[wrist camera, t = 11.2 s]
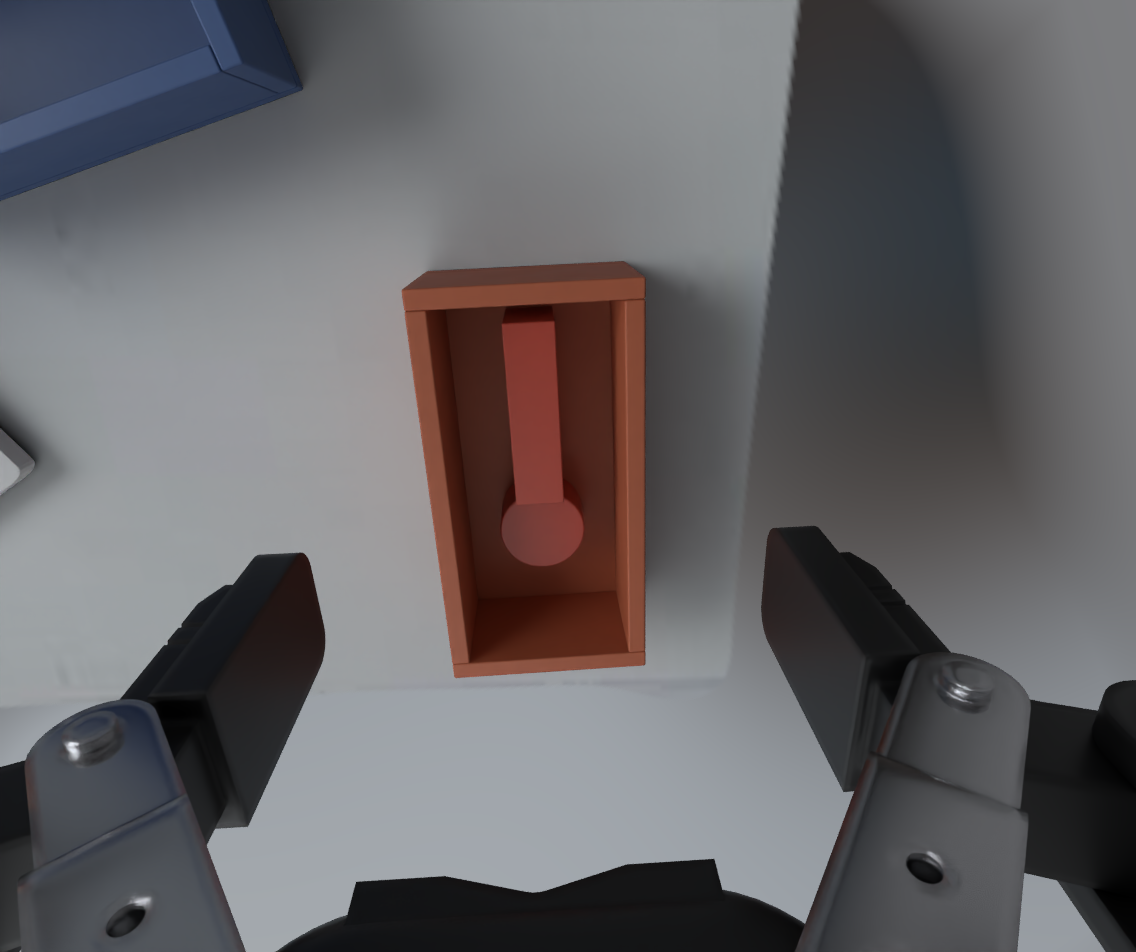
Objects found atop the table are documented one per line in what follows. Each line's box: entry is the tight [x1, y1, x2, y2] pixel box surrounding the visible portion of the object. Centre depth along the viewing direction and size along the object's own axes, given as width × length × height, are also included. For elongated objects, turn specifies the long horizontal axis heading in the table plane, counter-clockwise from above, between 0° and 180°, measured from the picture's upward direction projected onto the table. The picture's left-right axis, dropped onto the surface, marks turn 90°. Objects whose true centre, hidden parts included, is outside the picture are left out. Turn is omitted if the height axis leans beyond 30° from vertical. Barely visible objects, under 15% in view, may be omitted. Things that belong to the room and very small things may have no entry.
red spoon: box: [500, 306, 585, 567], centre depth 23 cm, size 9×3×3 cm, turn 2°
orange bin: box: [402, 261, 646, 678], centre depth 23 cm, size 13×7×5 cm, turn 3°
